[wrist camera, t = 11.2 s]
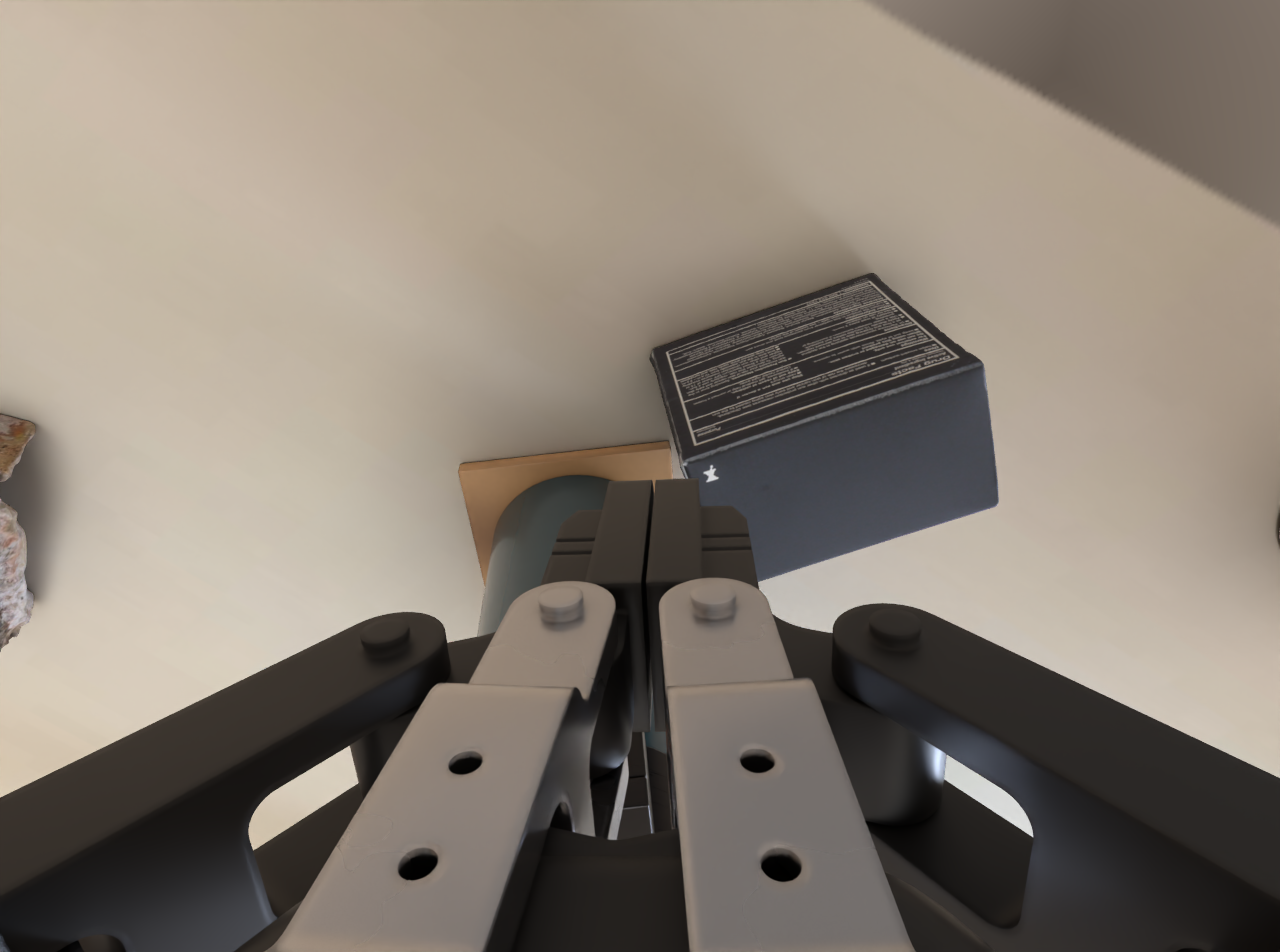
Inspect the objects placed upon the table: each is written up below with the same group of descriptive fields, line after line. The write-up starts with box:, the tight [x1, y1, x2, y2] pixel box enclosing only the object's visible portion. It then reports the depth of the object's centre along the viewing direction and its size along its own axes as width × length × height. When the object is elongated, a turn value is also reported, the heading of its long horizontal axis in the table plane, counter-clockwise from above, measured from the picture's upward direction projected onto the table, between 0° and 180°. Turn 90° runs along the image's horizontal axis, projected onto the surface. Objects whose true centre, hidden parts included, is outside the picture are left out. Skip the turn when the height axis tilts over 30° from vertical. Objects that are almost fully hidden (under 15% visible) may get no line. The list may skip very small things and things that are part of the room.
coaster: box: [458, 441, 673, 585], centre depth 39 cm, size 10×10×1 cm
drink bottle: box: [477, 475, 672, 840], centre depth 28 cm, size 12×9×24 cm
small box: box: [650, 273, 999, 582], centre depth 31 cm, size 11×6×10 cm, turn 109°
